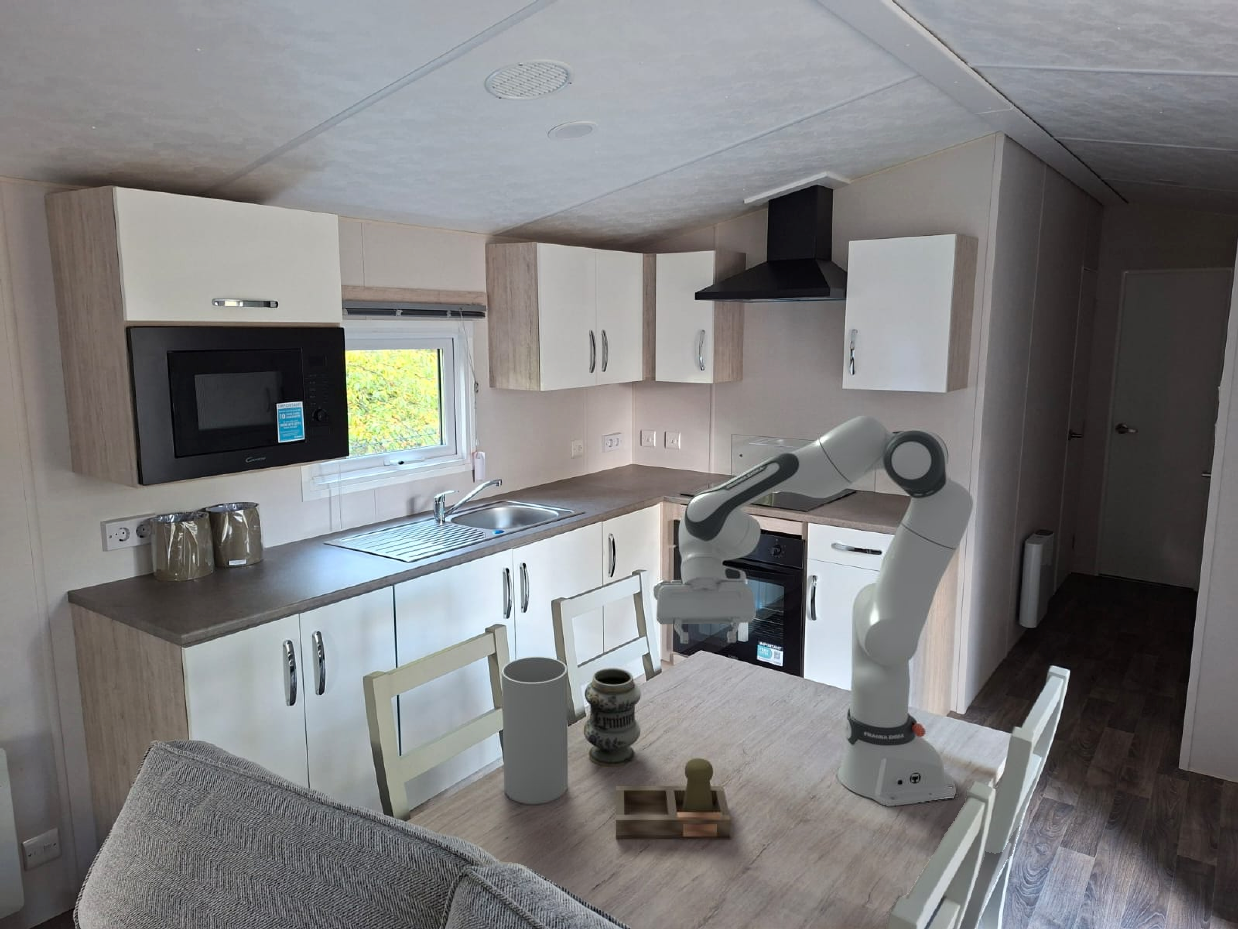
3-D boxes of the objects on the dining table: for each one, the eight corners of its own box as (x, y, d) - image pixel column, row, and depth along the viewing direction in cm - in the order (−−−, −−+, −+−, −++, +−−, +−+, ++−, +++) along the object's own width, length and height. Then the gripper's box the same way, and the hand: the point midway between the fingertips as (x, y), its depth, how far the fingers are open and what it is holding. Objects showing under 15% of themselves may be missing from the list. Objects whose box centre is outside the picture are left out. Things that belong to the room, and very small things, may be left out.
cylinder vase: (493, 800, 164) (490, 678, 160) (519, 767, 176) (517, 653, 172) (554, 811, 161) (552, 687, 156) (576, 777, 172) (576, 661, 168)
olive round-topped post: (712, 828, 154) (714, 772, 152) (679, 824, 155) (680, 769, 153) (715, 809, 160) (716, 755, 158) (683, 806, 161) (684, 752, 159)
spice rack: (722, 804, 163) (723, 783, 162) (730, 840, 152) (731, 818, 151) (615, 804, 163) (615, 783, 162) (615, 840, 152) (616, 818, 151)
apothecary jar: (617, 776, 173) (617, 693, 170) (572, 757, 180) (571, 677, 177) (651, 752, 182) (652, 673, 179) (607, 735, 190) (607, 659, 186)
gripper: (653, 573, 175) (657, 636, 167) (752, 571, 175) (761, 634, 167) (652, 587, 180) (655, 649, 172) (748, 585, 180) (756, 647, 172)
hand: (708, 642), depth 169 cm, fingers open, 8 cm apart
